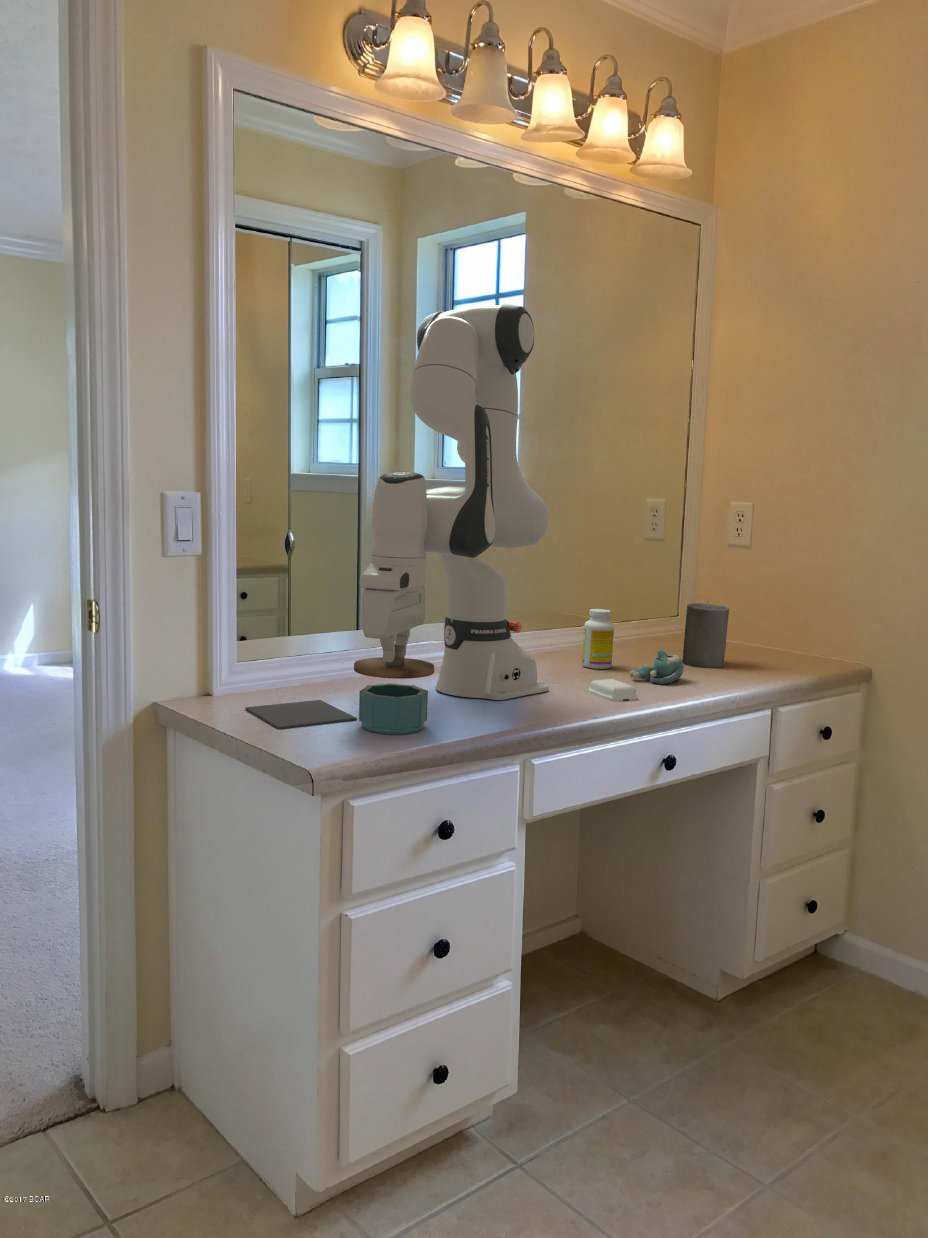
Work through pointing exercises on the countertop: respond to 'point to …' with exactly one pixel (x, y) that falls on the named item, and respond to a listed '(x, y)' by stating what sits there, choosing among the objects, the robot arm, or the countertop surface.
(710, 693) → the countertop surface
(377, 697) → the bowl
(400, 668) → the lid
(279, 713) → the mat
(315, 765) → the countertop surface
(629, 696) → the soap
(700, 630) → the pillar candle
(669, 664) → the stuffed animal
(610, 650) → the supplement bottle
